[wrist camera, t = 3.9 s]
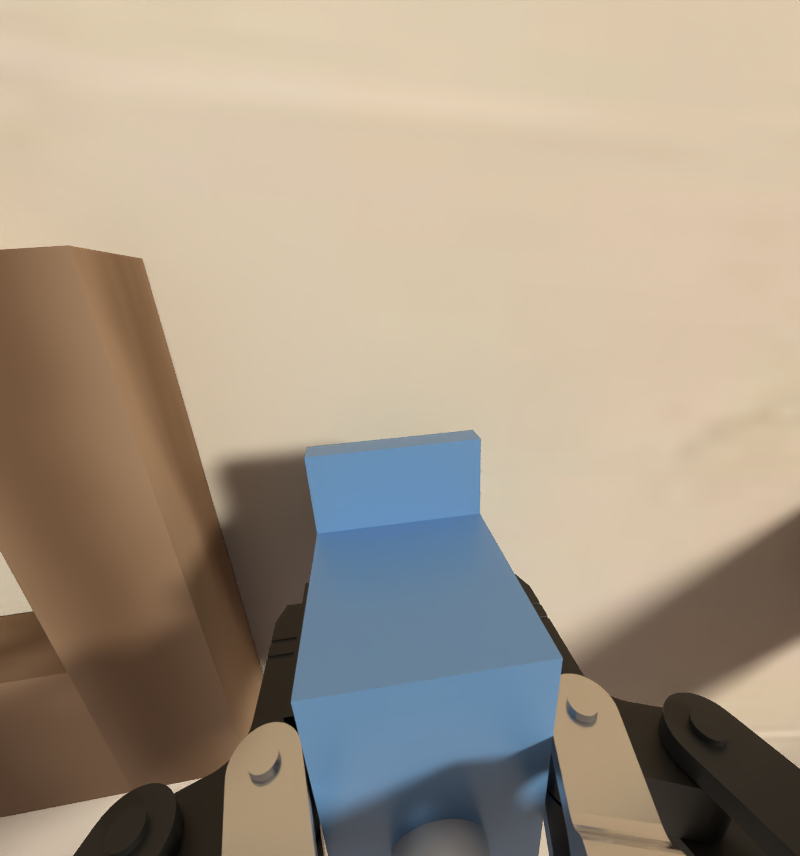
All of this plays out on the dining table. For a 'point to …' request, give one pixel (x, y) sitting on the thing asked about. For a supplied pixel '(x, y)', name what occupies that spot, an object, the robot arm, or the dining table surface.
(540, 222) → the dining table surface
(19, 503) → the board
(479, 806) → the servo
